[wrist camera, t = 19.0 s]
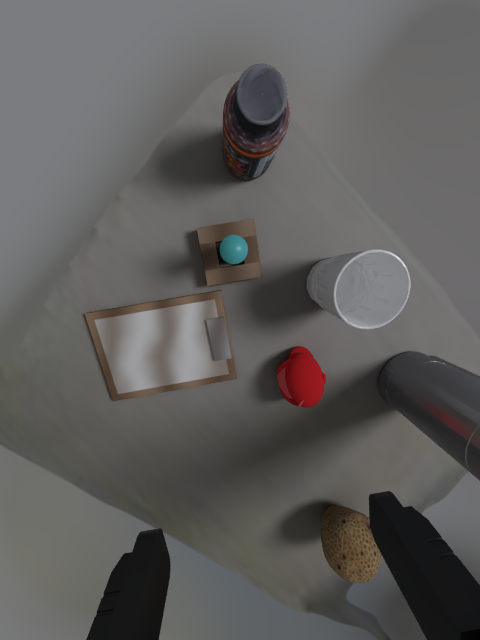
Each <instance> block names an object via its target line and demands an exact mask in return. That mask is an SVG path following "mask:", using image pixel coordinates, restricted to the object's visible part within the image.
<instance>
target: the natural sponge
mask: <svg viewBox="0 0 480 640" xmlns="http://www.w3.org/2000/svg"><path fill="white" fill-rule="evenodd" d="M321 540H322V547H323V552H324V555H325V558H326V560H327V562H328V563H329V565H330V567H331V568H332V569H333V570H334V571H335V572H336V573H337V574H338V575H339V576H340V577H342V578H343V579H345V580H347V581H350V582H356V583H365V582H369V581H370V580H372V579H373V578H374V577H375V575H376V573H377V572H378V570H379V568H380V562H381V555H380V551H379V549H378V547H377V545H376V543H375V540H374V538H373V535H372V532H371V528H370V518H369V517H367V516H366V515H364V514H362V513H360V512H357V511H354V510H352V509H350V508H346V507H341V506H337V505H333V506H330V507H328V508H327V509H326V511H325V512H324V514H323V516H322V521H321Z"/></svg>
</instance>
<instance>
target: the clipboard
mask: <svg viewBox="0 0 480 640" xmlns="http://www.w3.org/2000/svg"><path fill="white" fill-rule="evenodd" d="M85 316H86V319H87V322H88V326H89V329H90V332H91V335H92V338H93V341H94V344H95V347H96V350H97V353H98V356H99V359H100V363H101V366H102V369H103V372H104V375H105V378H106V381H107V384H108V387H109V390H110V393H111V396H112V399H113V401H117V400H123V399H128V398H134V397H139V396H145V395H150V394H156V393H161V392H167V391H172V390H178V389H183V388H189V387H194V386H200V385H205V384H211V383H216V382H222V381H227V380H233V379H237V376H236V371H235V365H234V360H233V354H232V349H231V343H230V338H229V332H228V327H227V321H226V316H225V310H224V305H223V299H222V294H221V290H218V291H213V292H207V293H201V294H195V295H189V296H183V297H177V298H172V299H166V300H160V301H154V302H148V303H142V304H136V305H131V306H125V307H119V308H113V309H107V310H101V311H95V312H90V313H86V314H85Z"/></svg>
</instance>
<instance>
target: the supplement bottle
mask: <svg viewBox="0 0 480 640" xmlns="http://www.w3.org/2000/svg"><path fill="white" fill-rule="evenodd" d="M289 119H290V110H289V104H288V100H287V87H286V84H285V81H284V79H283V77H282V75H281V74H280V73H279V72H278V71H277V70H276V69H275V68H274V67H272V66H270V65H267V64H257V65H253V66H251V67H250V68H248V69H247V70H246V71H245V72H244V73H243V74H242V76H241V78H240V79H239V80H238V81H237V82H236V83H235V84H234V85H233V87H232V88H231V89H230V91H229V93H228V95H227V97H226V100H225V104H224V109H223V141H222V144H223V146H222V152H223V158H224V162H225V164H226V166H227V168H228V170H229V171H230V172H231V173H232V174H233V175H234V176H236V177H237V178H240V179H243V180H253V179H256V178H258V177H260V176H261V175H262V174H263V173H264V172H265V171H266V170H267V168H268V167H269V165H270V163H271V161H272V159H273V157H274V155H275V153H276V151H277V149H278V148H279V146H280V144H281V142H282V140H283V138H284V136H285V134H286V131H287V128H288V124H289Z"/></svg>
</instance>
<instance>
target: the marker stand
mask: <svg viewBox="0 0 480 640" xmlns="http://www.w3.org/2000/svg"><path fill="white" fill-rule="evenodd" d="M197 233H198V238H199V244H200V249H201V254H202V259H203V264H204V269H205V275H206V280H207V285H208V286H210V285H216V284H222V283H228V282H234V281H240V280H246V279H251V278H257V277H262V274H261V266H260V259H259V252H258V245H257V238H256V230H255V223H254V219H249V220H243V221H237V222H231V223H225V224H219V225H212V226H206V227H200V228H197ZM229 235H238V236H240V237H242V238H243V239H244V240H245V241H246V243H247V246H248V253H247V256H246V258H245V259H244V260H243V262H244V264H240V265H234V266H228V267H223V268H220V266H219V260H218V254H217V249H216V243H218V242H222V241H223V239H224V238H226V237H227V236H229Z"/></svg>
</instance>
